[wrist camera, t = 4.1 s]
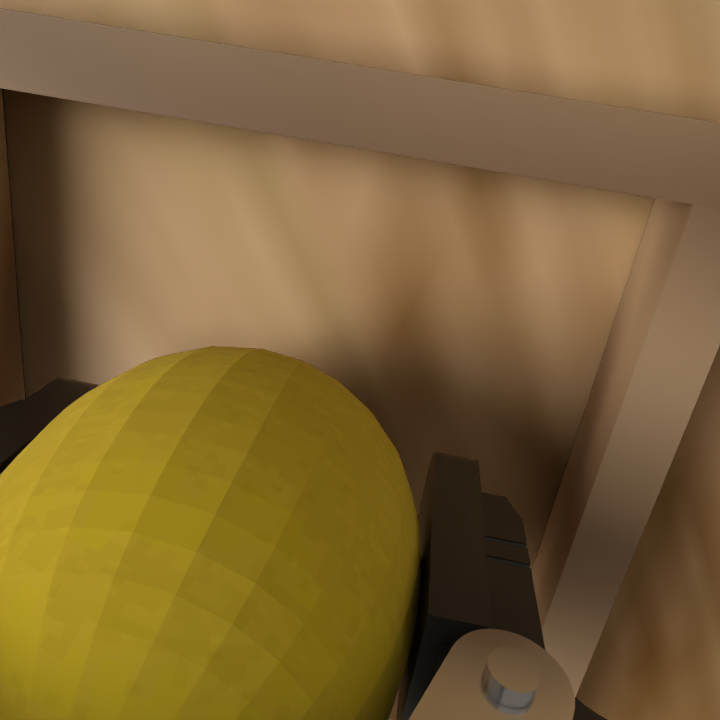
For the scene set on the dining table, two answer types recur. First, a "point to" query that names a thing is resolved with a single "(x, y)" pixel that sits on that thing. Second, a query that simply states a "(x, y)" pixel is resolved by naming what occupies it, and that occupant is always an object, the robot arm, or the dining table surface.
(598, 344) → the dining table surface
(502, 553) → the robot arm
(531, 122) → the holder
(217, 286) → the dining table surface
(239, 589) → the lemon
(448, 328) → the dining table surface
